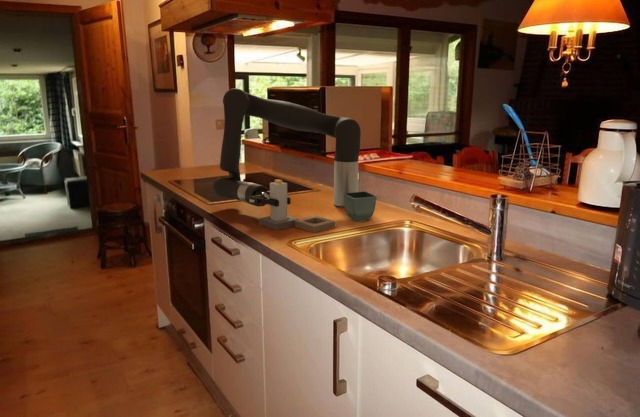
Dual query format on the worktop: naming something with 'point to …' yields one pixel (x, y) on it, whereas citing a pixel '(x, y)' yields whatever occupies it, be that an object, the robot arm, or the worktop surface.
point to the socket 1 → (277, 225)
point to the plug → (280, 193)
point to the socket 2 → (315, 223)
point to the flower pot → (359, 205)
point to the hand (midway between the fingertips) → (283, 202)
